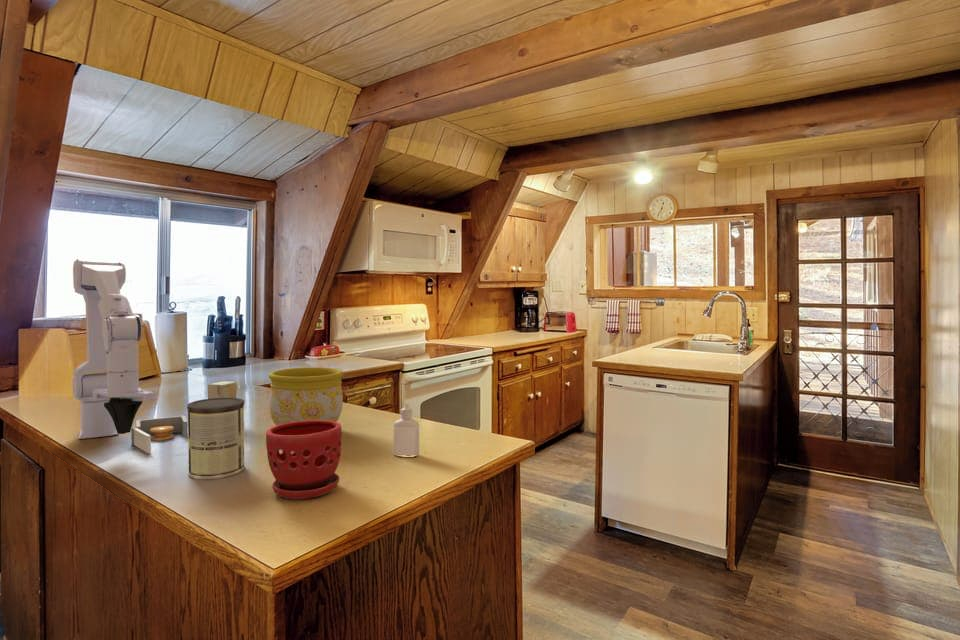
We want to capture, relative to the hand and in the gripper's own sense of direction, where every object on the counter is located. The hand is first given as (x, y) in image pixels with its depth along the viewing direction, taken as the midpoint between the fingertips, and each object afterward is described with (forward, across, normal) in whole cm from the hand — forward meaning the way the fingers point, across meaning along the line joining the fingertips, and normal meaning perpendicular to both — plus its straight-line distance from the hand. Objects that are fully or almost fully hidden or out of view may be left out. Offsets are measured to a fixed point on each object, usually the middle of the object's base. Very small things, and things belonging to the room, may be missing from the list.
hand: (123, 432), depth 113 cm
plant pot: (+6, -49, +7) cm, 50 cm away
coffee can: (+6, -26, +2) cm, 27 cm away
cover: (+5, +1, -6) cm, 8 cm away
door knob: (+5, +5, -15) cm, 16 cm away
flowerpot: (+6, -28, -27) cm, 39 cm away
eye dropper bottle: (+6, -59, -18) cm, 62 cm away
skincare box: (+5, -3, -27) cm, 27 cm away
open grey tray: (+5, +5, -15) cm, 17 cm away
